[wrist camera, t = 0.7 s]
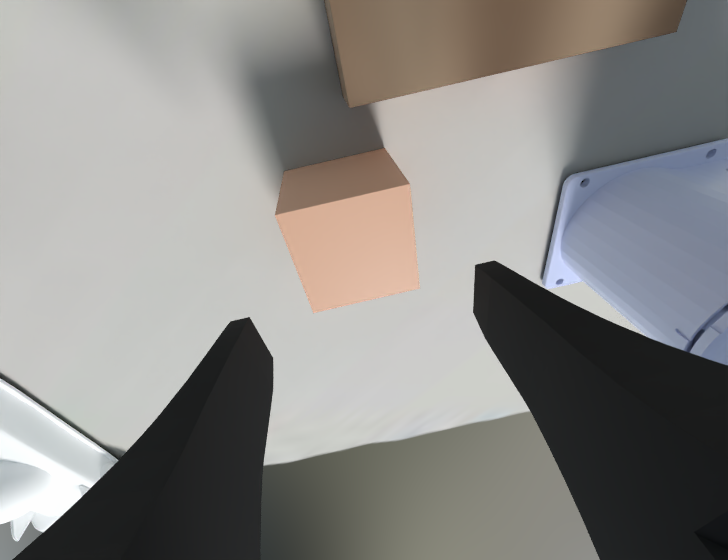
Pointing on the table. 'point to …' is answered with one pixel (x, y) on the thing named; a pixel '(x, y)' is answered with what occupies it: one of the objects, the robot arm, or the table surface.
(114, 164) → the table surface
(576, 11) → the base block
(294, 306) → the table surface
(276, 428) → the table surface
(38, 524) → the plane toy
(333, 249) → the cube
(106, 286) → the table surface
